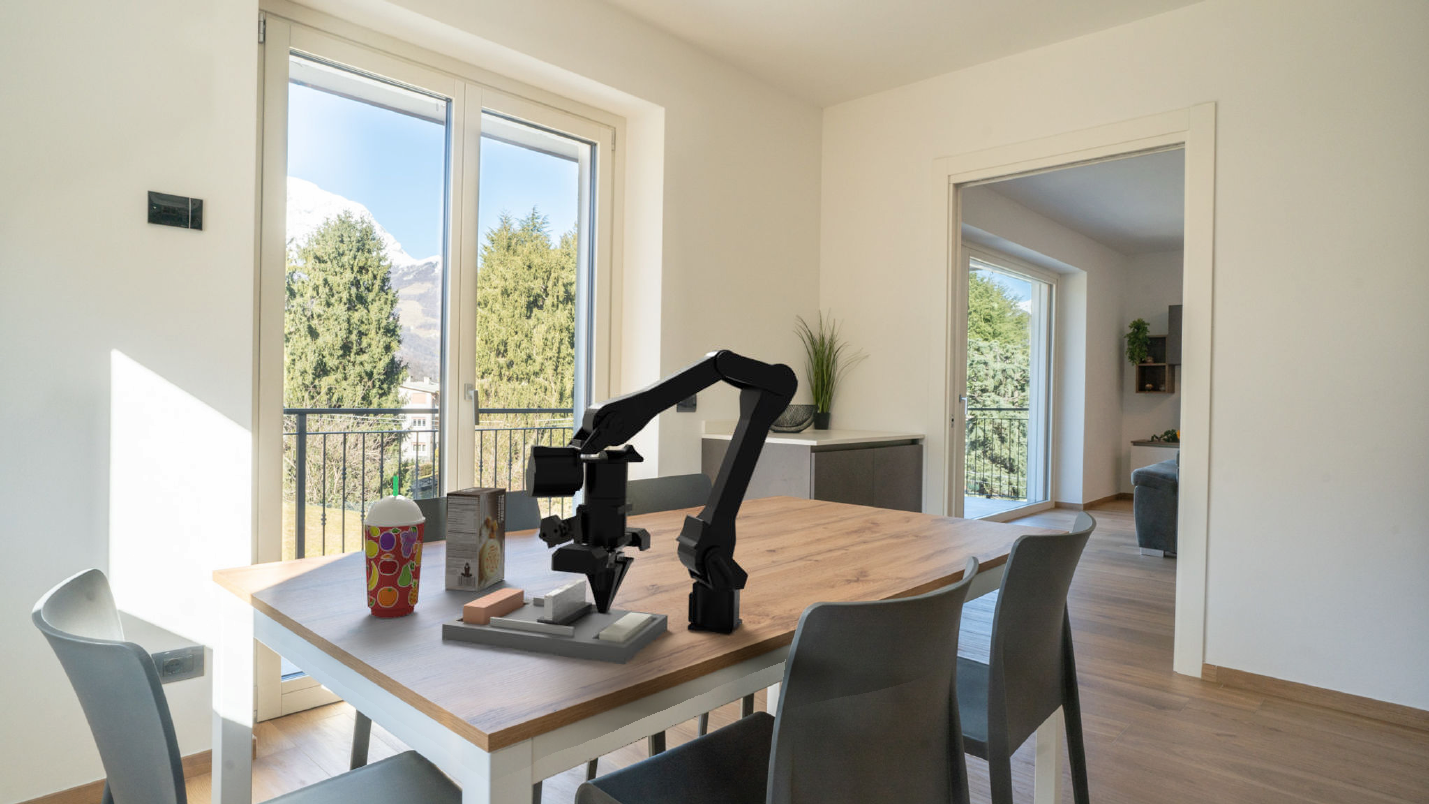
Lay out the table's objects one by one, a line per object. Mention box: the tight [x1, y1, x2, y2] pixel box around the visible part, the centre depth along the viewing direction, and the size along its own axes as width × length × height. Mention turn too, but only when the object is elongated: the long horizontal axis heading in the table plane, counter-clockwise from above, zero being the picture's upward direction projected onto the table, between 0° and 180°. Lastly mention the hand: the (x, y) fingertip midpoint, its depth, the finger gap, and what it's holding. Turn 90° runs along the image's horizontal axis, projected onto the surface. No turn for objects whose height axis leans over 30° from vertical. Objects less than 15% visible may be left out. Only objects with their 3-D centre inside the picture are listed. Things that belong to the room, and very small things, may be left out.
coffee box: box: [444, 486, 507, 593], centre depth 129 cm, size 9×6×16 cm
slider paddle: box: [537, 578, 593, 626], centre depth 103 cm, size 3×10×4 cm, turn 163°
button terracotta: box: [462, 587, 525, 625], centre depth 106 cm, size 3×10×2 cm, turn 163°
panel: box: [441, 596, 669, 665], centre depth 103 cm, size 26×15×3 cm, turn 73°
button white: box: [599, 612, 652, 643], centre depth 100 cm, size 3×10×2 cm, turn 163°
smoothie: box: [362, 475, 426, 619], centre depth 111 cm, size 8×8×20 cm
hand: (603, 612), depth 101 cm, fingers closed
